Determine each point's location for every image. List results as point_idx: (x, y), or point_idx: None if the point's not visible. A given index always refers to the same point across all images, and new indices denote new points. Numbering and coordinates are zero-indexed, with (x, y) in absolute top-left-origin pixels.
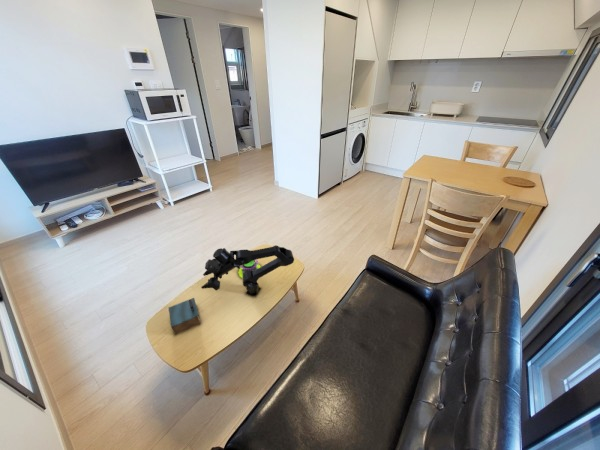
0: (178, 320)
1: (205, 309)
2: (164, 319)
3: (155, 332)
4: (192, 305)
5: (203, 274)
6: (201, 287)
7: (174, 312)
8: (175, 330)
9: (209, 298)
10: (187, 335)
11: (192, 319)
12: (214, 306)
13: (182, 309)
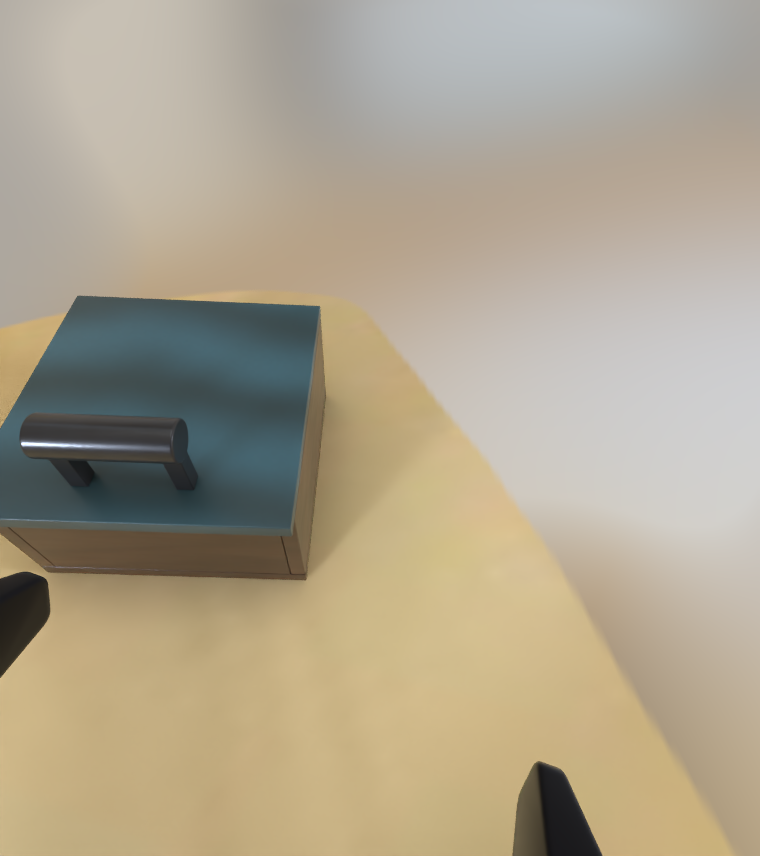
0: (87, 344)
1: (188, 670)
2: (329, 351)
3: None
4: (34, 436)
5: (539, 782)
6: (12, 575)
7: (219, 333)
8: None
9: (330, 772)
10: None
11: None
12: (144, 804)
13: (196, 390)
